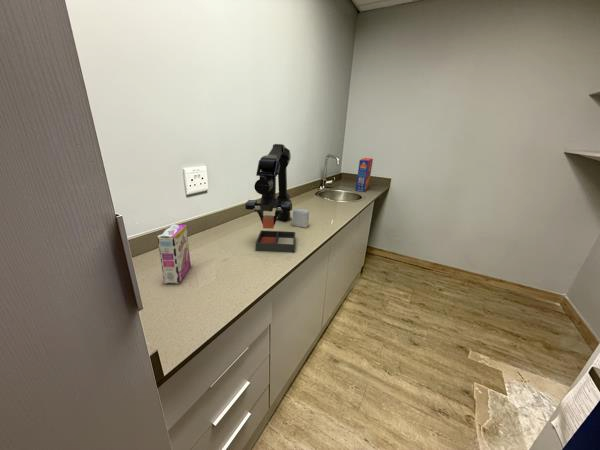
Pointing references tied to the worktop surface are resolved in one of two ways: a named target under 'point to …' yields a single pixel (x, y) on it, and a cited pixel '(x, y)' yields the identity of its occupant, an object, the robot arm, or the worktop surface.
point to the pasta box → (364, 174)
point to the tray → (276, 241)
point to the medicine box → (300, 218)
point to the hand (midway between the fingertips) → (268, 224)
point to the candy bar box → (174, 253)
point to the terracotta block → (268, 221)
